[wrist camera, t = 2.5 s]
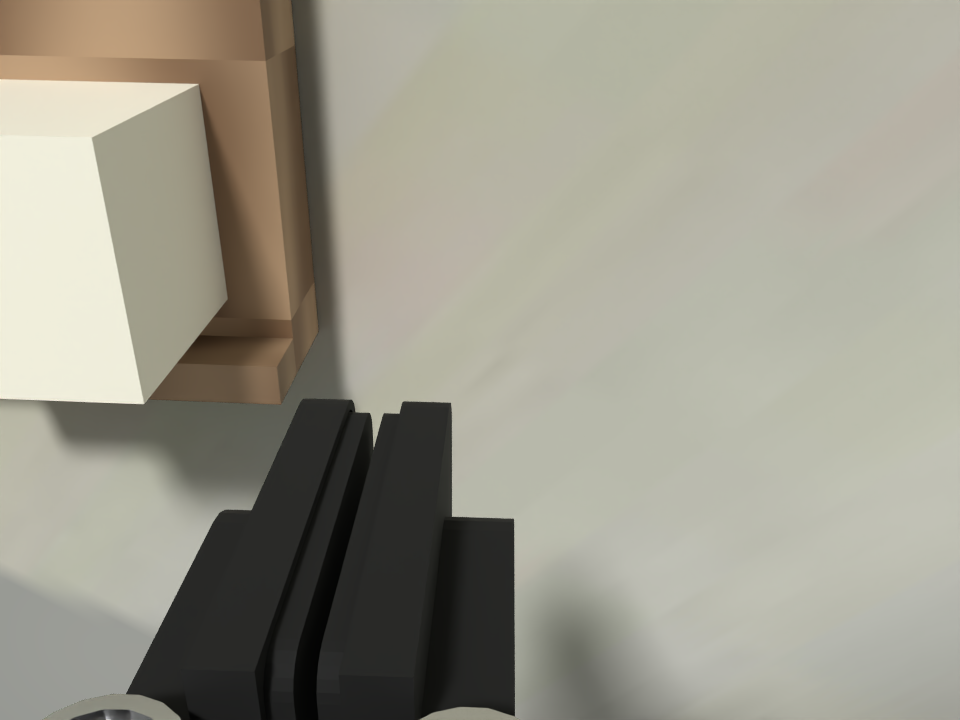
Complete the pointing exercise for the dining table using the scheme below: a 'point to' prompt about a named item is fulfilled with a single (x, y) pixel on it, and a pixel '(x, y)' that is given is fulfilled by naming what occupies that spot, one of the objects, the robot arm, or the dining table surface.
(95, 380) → the block
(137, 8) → the tray
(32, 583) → the dining table surface
